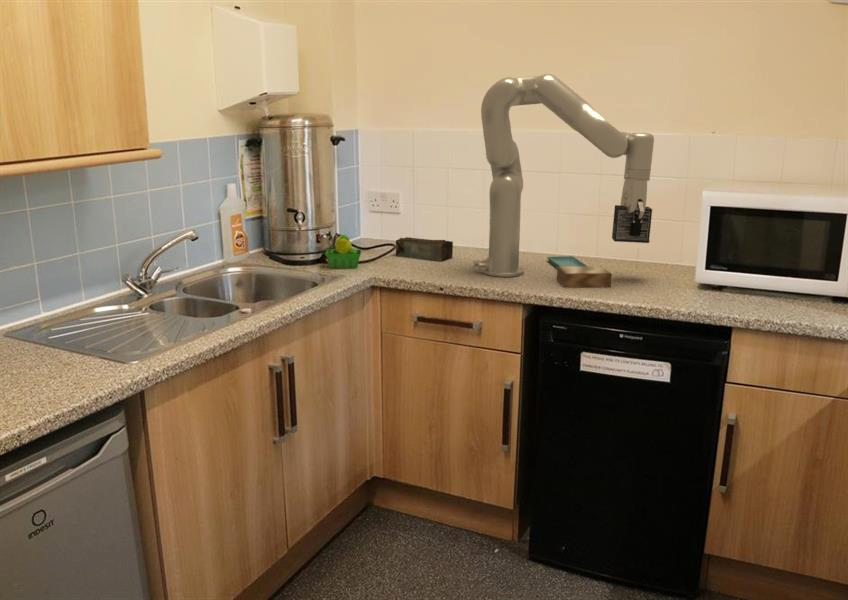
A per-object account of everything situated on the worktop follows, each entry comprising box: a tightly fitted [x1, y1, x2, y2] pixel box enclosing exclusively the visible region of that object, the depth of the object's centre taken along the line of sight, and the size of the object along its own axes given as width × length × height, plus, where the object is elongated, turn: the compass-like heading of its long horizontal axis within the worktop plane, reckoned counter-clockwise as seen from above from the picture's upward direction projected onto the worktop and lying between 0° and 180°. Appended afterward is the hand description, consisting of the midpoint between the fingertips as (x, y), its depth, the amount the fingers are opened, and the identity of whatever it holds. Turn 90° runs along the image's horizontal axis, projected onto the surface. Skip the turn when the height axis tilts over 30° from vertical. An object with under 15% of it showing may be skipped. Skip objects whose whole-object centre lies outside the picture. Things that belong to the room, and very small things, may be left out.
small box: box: [611, 204, 653, 244], centre depth 241 cm, size 11×6×10 cm, turn 85°
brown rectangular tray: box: [556, 265, 613, 288], centre depth 239 cm, size 14×10×4 cm
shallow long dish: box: [547, 255, 588, 268], centre depth 259 cm, size 26×9×2 cm, turn 6°
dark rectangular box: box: [395, 236, 454, 262], centre depth 276 cm, size 8×19×7 cm, turn 61°
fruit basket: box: [325, 234, 362, 269], centre depth 259 cm, size 11×9×11 cm
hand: (630, 233), depth 242 cm, fingers closed on small box, 6 cm apart
